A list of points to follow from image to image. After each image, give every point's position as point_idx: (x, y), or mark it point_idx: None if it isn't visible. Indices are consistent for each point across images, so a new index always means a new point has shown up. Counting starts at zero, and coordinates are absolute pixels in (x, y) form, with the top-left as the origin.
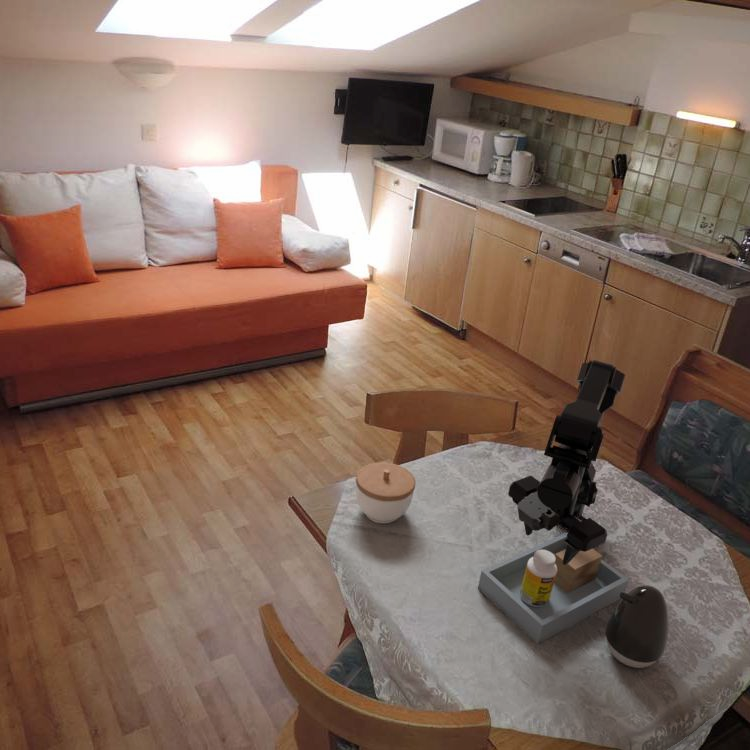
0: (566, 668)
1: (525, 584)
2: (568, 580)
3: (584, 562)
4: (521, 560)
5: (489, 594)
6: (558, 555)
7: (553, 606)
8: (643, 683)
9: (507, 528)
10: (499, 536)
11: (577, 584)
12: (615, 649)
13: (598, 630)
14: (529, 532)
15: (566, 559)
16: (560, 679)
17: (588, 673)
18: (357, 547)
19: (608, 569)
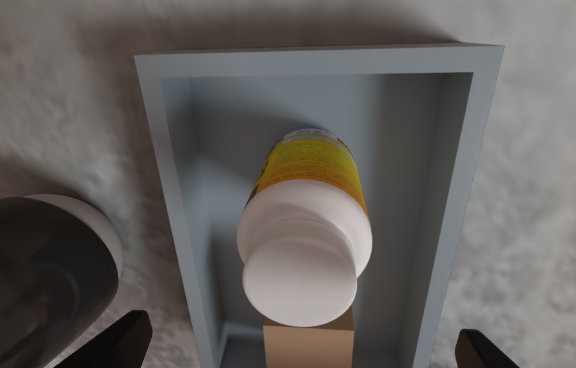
0: (75, 62)
1: (322, 150)
2: None
3: (273, 364)
4: (432, 236)
5: (406, 44)
6: (342, 332)
7: None
8: (3, 195)
9: (563, 307)
10: (562, 269)
11: None
12: (18, 198)
13: (162, 230)
14: (467, 357)
15: (77, 352)
16: (43, 12)
17: (49, 105)
18: None
19: None
